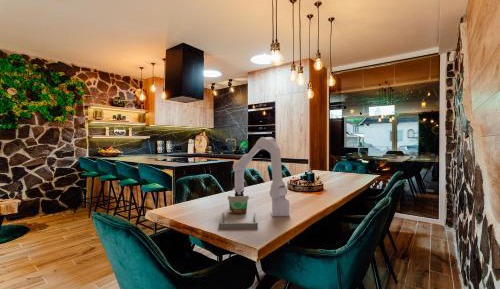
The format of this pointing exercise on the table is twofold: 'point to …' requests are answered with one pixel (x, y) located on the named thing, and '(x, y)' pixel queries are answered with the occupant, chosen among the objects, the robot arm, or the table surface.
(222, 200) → the table surface
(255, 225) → the dock
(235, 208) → the food container
